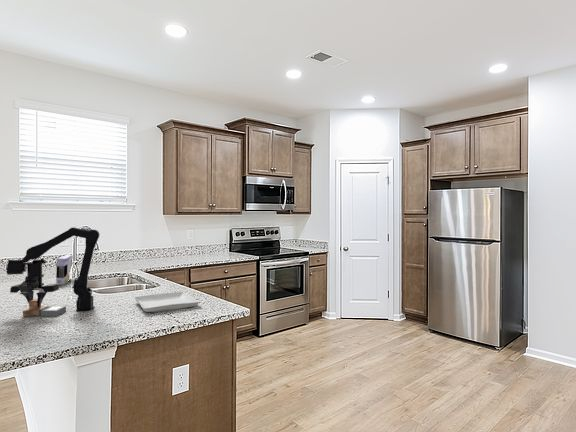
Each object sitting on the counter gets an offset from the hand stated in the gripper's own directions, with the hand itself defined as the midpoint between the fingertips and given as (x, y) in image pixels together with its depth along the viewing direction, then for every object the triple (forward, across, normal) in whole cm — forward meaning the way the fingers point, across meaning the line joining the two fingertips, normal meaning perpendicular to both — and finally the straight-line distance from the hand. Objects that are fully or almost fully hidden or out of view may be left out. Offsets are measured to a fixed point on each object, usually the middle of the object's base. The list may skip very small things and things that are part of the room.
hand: (35, 306), depth 173 cm
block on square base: (+3, 0, 0) cm, 3 cm away
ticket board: (+4, +8, 0) cm, 9 cm away
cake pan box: (+4, -25, +78) cm, 82 cm away
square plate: (+4, +56, +13) cm, 58 cm away
